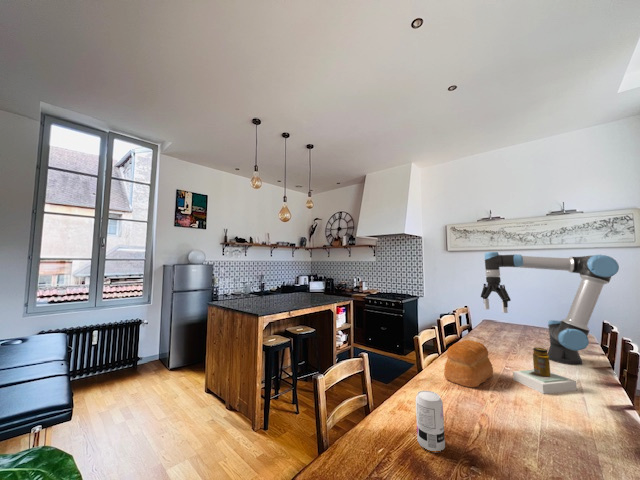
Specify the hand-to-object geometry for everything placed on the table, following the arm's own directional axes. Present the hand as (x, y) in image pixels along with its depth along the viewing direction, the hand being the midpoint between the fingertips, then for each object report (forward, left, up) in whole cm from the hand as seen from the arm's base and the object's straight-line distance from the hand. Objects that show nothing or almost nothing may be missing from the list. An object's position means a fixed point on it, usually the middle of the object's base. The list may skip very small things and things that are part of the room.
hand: (495, 310), depth 164 cm
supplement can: (+86, +63, -29) cm, 110 cm away
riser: (+9, +34, -29) cm, 46 cm away
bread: (+37, +20, -29) cm, 51 cm away
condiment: (+10, +35, -24) cm, 43 cm away
